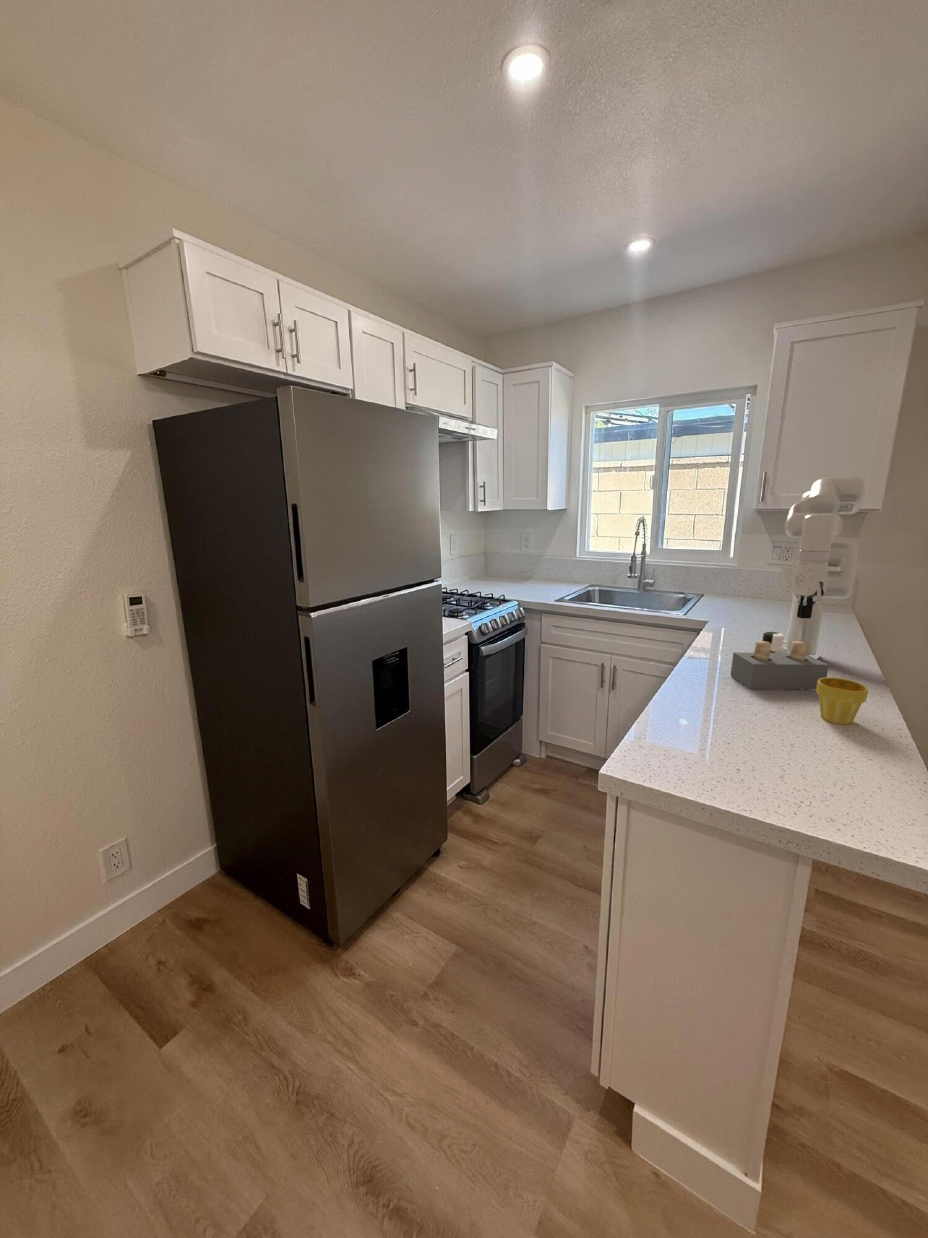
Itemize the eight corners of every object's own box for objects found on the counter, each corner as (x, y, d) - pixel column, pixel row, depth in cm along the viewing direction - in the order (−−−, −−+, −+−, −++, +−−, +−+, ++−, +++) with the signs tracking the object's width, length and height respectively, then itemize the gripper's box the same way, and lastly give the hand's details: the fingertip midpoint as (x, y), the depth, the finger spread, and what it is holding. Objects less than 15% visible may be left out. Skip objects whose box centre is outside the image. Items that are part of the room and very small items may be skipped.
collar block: (730, 676, 161) (733, 652, 159) (799, 676, 160) (803, 653, 159) (750, 689, 149) (753, 664, 147) (824, 690, 149) (828, 664, 147)
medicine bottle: (752, 665, 172) (757, 631, 169) (765, 662, 175) (770, 629, 172) (772, 671, 166) (777, 636, 163) (786, 668, 169) (791, 634, 166)
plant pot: (837, 729, 123) (844, 692, 120) (802, 713, 132) (808, 678, 130) (872, 726, 125) (879, 689, 122) (834, 709, 134) (840, 675, 132)
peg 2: (785, 662, 155) (789, 641, 154) (798, 662, 155) (802, 641, 154) (793, 666, 151) (797, 644, 150) (807, 666, 151) (810, 644, 150)
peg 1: (750, 662, 156) (753, 640, 154) (763, 662, 156) (766, 640, 154) (757, 666, 152) (760, 644, 150) (770, 666, 152) (773, 644, 150)
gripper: (785, 554, 153) (776, 612, 157) (817, 559, 139) (807, 623, 143) (809, 554, 153) (800, 612, 157) (844, 559, 138) (833, 623, 142)
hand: (803, 617), depth 150 cm, fingers closed
